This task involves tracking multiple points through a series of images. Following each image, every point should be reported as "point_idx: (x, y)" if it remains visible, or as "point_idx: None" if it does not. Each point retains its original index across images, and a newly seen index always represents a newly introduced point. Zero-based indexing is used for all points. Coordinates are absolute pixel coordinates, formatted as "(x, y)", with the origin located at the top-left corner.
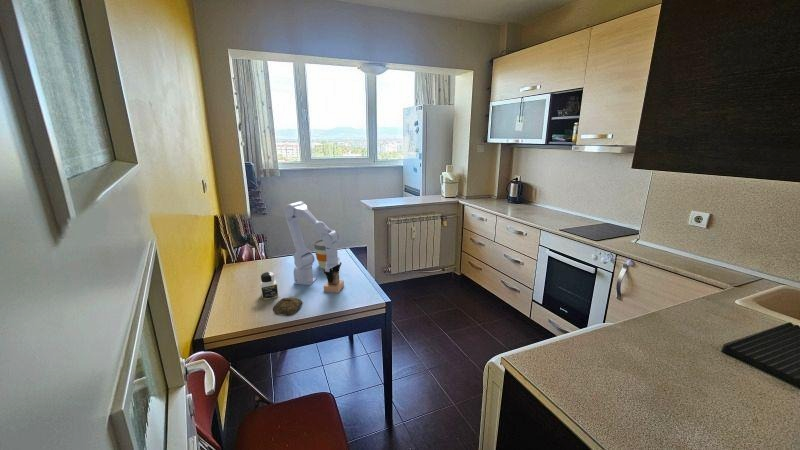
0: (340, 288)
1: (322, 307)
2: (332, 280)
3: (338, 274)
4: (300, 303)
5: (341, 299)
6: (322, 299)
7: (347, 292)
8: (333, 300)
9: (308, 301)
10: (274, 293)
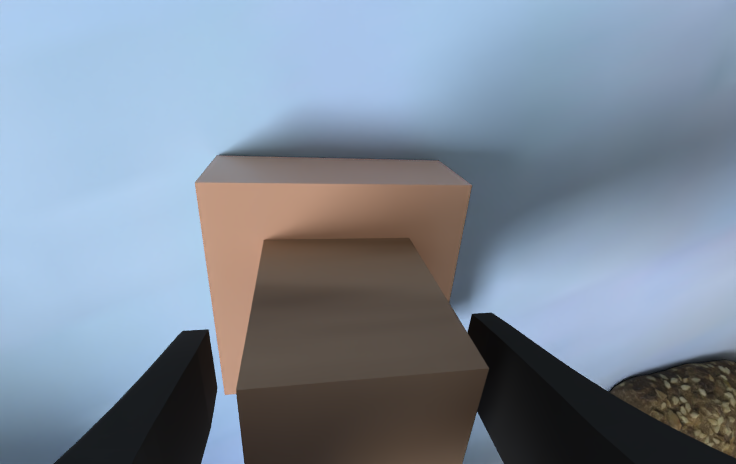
0: (370, 165)
1: (728, 211)
2: (523, 336)
3: (283, 342)
4: (687, 391)
5: (616, 59)
6: (578, 271)
7: (425, 27)
8: (620, 154)
9: (593, 358)
10: None
